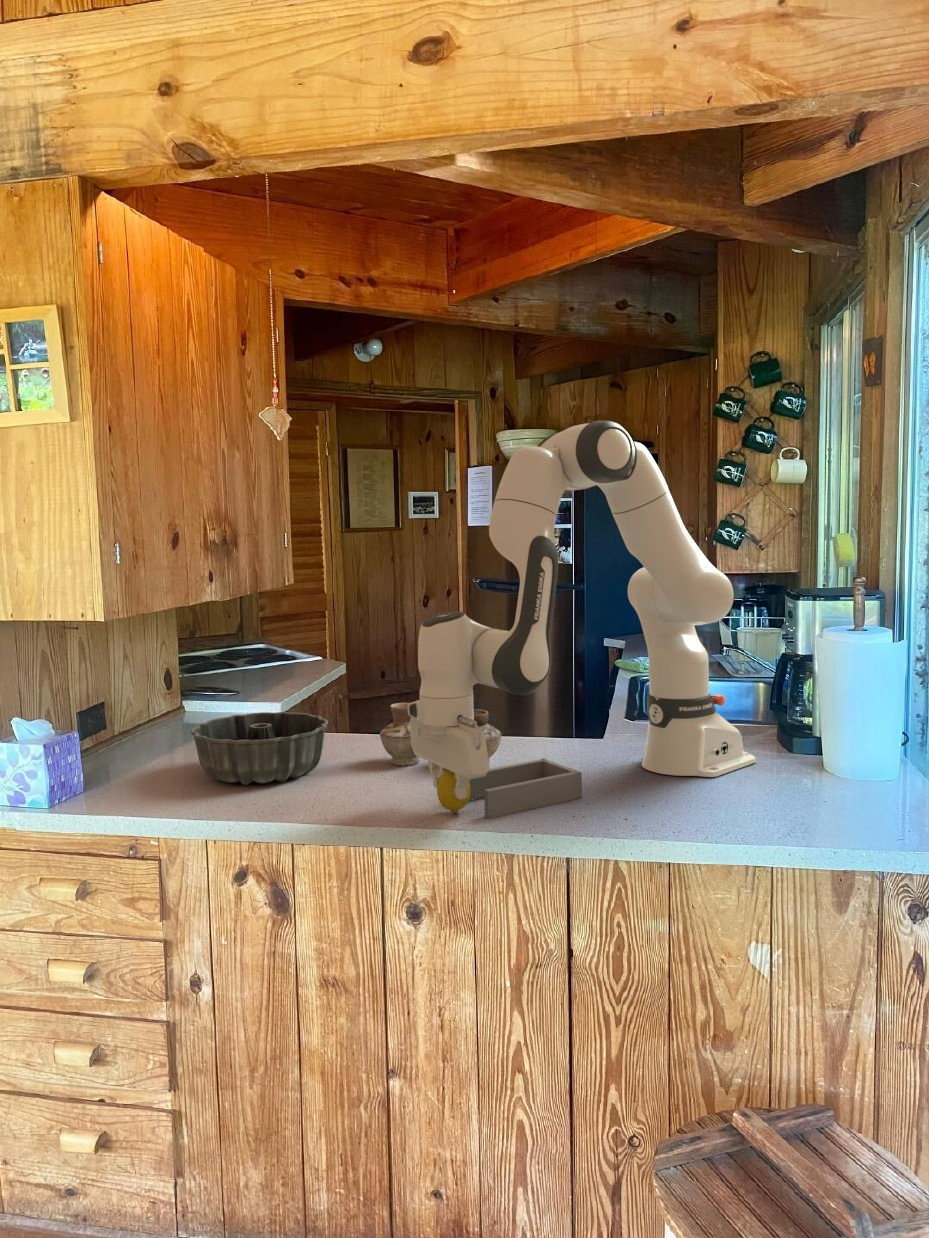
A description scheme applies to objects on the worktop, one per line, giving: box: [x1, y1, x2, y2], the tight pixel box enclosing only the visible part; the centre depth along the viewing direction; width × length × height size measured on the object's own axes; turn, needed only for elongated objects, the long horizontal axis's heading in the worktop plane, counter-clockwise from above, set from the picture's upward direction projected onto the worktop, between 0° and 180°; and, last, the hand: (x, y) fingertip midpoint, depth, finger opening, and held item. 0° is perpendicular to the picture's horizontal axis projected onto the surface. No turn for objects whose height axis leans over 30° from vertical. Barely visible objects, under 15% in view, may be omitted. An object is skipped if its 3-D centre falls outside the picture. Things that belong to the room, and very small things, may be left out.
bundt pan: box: [190, 711, 329, 786], centre depth 182 cm, size 26×26×10 cm
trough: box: [469, 758, 583, 819], centre depth 160 cm, size 19×11×4 cm, turn 120°
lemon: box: [436, 769, 470, 814], centre depth 153 cm, size 6×6×8 cm
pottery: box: [379, 702, 502, 767], centre depth 184 cm, size 11×25×12 cm, turn 77°
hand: (449, 792), depth 153 cm, fingers closed on lemon, 5 cm apart
